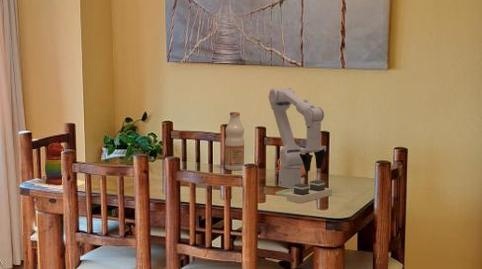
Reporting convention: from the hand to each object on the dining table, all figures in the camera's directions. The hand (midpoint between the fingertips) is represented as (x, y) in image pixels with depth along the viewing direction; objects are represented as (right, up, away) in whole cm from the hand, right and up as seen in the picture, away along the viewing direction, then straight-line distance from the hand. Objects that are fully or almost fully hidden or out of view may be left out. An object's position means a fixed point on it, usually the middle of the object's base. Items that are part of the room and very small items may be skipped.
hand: (313, 169), depth 286 cm
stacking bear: (-111, -7, +21) cm, 114 cm away
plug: (-6, -11, -11) cm, 17 cm away
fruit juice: (-33, -3, +55) cm, 65 cm away
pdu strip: (-2, -12, -7) cm, 14 cm away
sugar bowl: (-6, -5, +39) cm, 40 cm away
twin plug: (+1, -10, -4) cm, 11 cm away
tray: (-9, -11, -2) cm, 14 cm away
